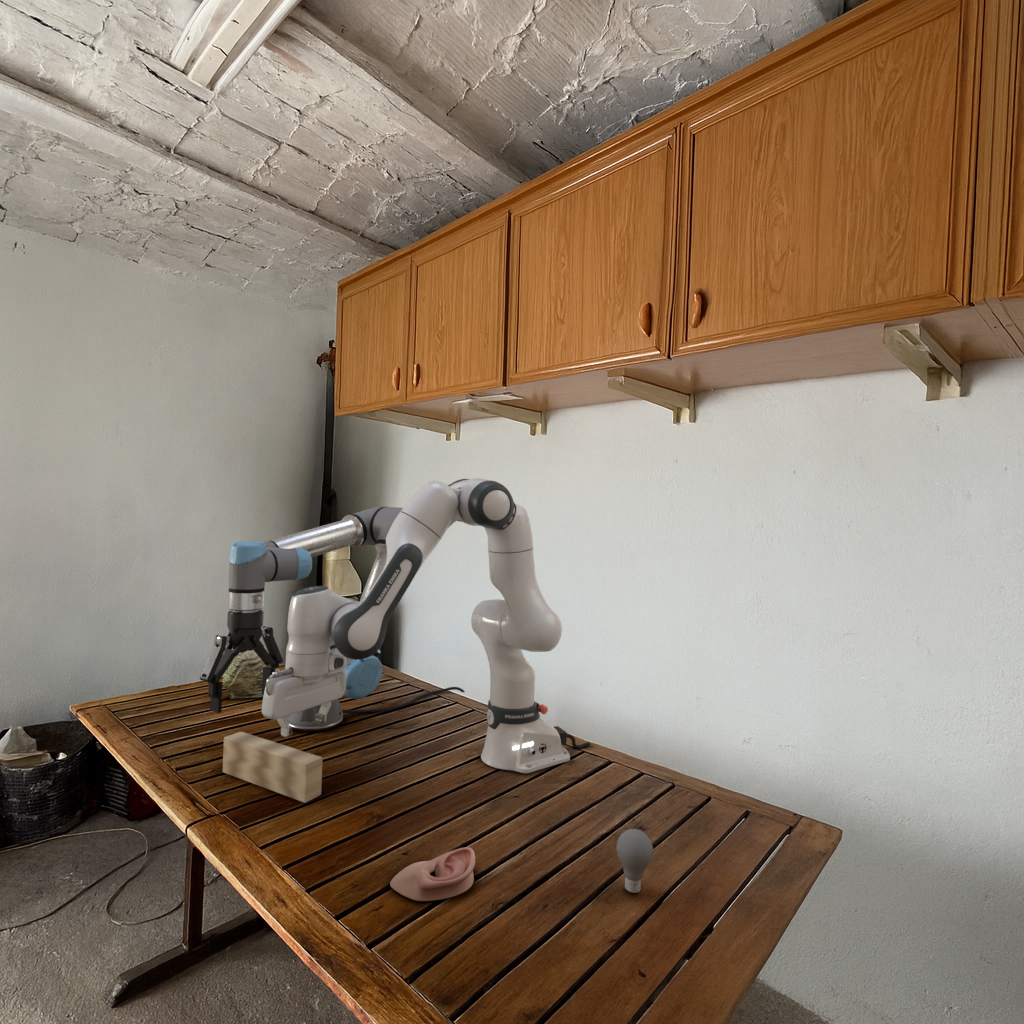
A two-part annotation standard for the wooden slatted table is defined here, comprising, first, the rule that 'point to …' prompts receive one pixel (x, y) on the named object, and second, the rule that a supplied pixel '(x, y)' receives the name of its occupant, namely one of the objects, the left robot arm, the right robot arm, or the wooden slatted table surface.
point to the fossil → (245, 675)
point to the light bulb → (634, 857)
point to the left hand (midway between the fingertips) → (242, 703)
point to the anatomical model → (437, 876)
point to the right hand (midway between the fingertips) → (304, 728)
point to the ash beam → (273, 766)
